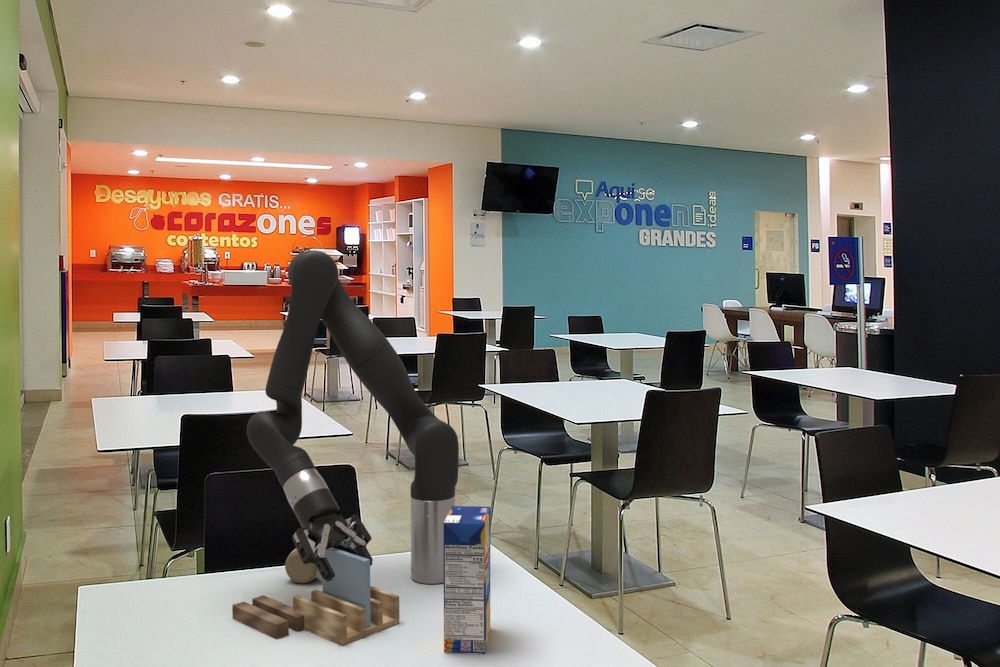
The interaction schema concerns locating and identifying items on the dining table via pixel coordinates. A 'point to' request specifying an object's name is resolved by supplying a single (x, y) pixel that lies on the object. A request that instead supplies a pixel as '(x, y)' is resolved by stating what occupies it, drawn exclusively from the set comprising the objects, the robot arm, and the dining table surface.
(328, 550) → the pale blue board
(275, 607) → the stand
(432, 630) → the dining table surface
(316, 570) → the ceramic mug
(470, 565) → the beverage box
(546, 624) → the dining table surface
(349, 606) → the rack
